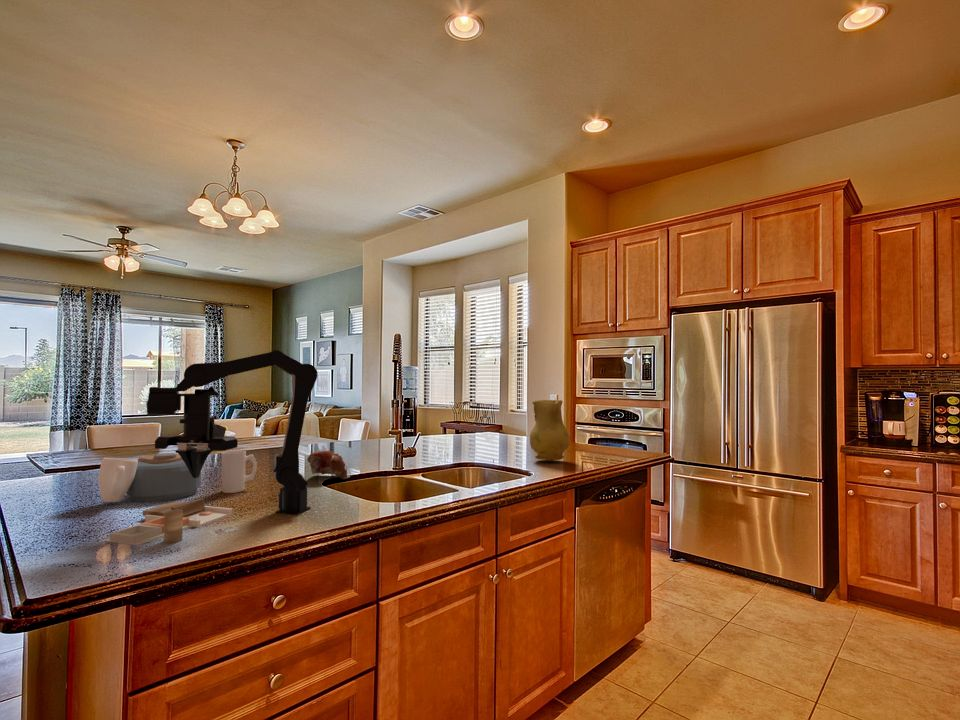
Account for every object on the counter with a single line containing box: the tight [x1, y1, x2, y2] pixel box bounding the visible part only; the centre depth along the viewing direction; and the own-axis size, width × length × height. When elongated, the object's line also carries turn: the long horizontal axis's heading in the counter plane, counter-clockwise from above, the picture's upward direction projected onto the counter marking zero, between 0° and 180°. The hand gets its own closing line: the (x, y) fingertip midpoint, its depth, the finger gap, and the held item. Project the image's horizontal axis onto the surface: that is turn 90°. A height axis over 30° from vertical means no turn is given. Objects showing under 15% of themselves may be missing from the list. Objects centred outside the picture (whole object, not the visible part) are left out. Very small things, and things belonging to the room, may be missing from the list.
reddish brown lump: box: [307, 450, 351, 480], centre depth 176 cm, size 16×13×10 cm
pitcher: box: [529, 399, 570, 461], centre depth 219 cm, size 17×19×25 cm
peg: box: [163, 509, 183, 544], centre depth 109 cm, size 3×3×7 cm
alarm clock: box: [125, 452, 202, 502], centre depth 151 cm, size 19×20×12 cm
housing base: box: [144, 505, 234, 528], centre depth 126 cm, size 16×11×2 cm
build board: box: [104, 516, 194, 546], centre depth 113 cm, size 9×14×2 cm, turn 164°
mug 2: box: [221, 449, 258, 494], centre depth 157 cm, size 10×7×12 cm, turn 119°
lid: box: [142, 497, 206, 517], centre depth 127 cm, size 10×9×3 cm
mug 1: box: [97, 457, 138, 503], centre depth 138 cm, size 12×8×11 cm
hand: (195, 477), depth 124 cm, fingers closed
